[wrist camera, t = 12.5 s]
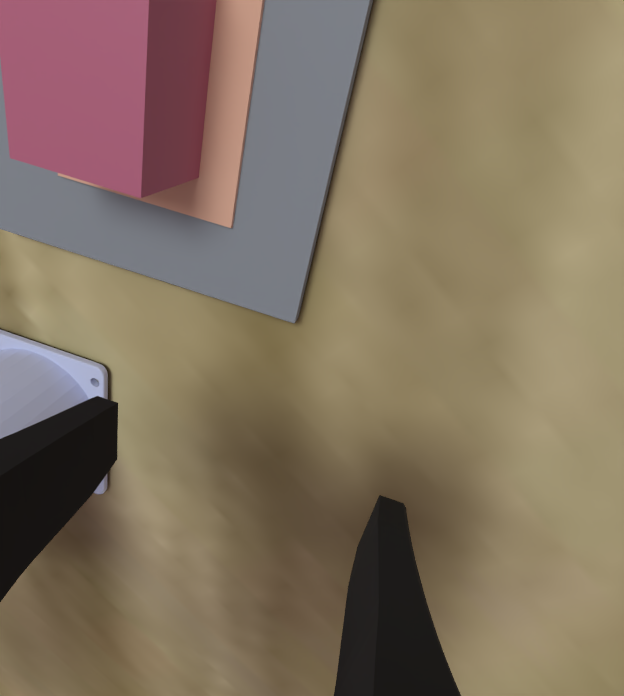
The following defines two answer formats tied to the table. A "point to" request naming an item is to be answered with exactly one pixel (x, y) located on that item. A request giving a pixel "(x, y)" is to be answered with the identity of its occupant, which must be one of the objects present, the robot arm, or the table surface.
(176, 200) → the mat
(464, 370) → the table surface
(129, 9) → the pink rectangular block
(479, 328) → the table surface
